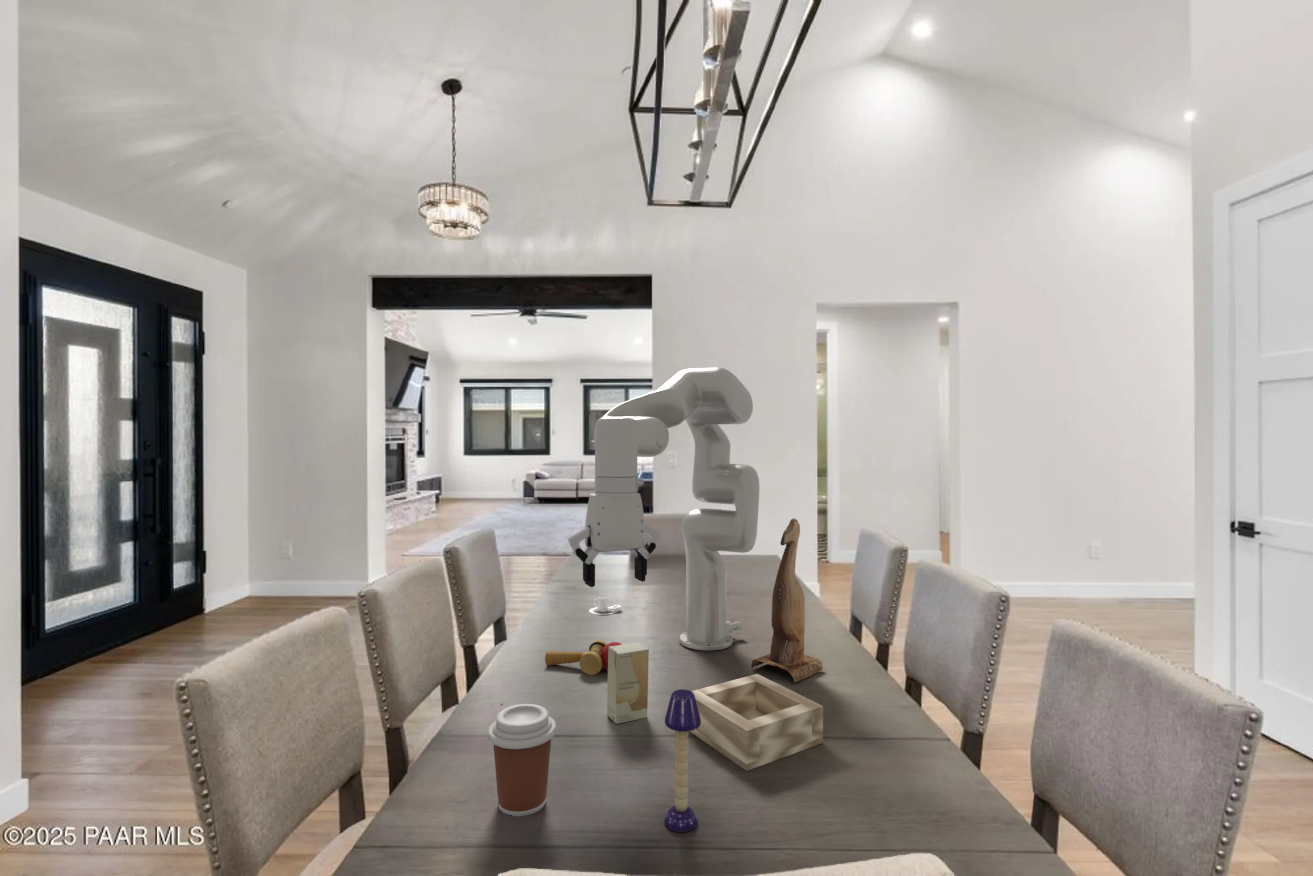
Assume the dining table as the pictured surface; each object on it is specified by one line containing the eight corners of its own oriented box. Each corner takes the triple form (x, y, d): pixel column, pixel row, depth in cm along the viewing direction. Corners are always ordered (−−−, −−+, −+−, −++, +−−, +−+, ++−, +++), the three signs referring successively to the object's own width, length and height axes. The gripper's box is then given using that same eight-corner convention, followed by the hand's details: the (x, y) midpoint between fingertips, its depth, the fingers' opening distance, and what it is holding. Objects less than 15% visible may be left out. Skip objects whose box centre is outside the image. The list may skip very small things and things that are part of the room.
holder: (756, 706, 117) (757, 673, 117) (822, 743, 104) (823, 706, 104) (684, 728, 109) (685, 692, 109) (746, 771, 95) (746, 730, 95)
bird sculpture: (748, 671, 134) (749, 518, 134) (779, 656, 143) (779, 513, 142) (795, 686, 127) (797, 524, 126) (824, 669, 135) (826, 518, 135)
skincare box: (616, 725, 110) (616, 654, 110) (606, 715, 114) (606, 646, 113) (649, 717, 113) (649, 648, 113) (638, 707, 117) (639, 640, 116)
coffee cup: (560, 783, 92) (560, 699, 92) (551, 822, 83) (551, 729, 83) (495, 784, 92) (495, 700, 91) (480, 823, 83) (480, 730, 82)
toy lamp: (662, 811, 85) (663, 686, 85) (697, 809, 86) (698, 685, 85) (666, 834, 80) (666, 701, 80) (703, 832, 81) (703, 700, 81)
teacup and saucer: (625, 611, 179) (625, 597, 179) (608, 618, 172) (608, 603, 172) (600, 606, 184) (600, 592, 184) (583, 613, 177) (583, 598, 177)
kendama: (540, 679, 133) (624, 674, 129) (539, 647, 134) (621, 642, 131) (555, 672, 141) (634, 667, 137) (553, 642, 142) (631, 637, 138)
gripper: (650, 483, 121) (649, 573, 121) (562, 486, 113) (561, 583, 114) (668, 486, 115) (668, 582, 115) (577, 489, 107) (576, 592, 107)
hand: (615, 582), depth 114 cm, fingers open, 9 cm apart
